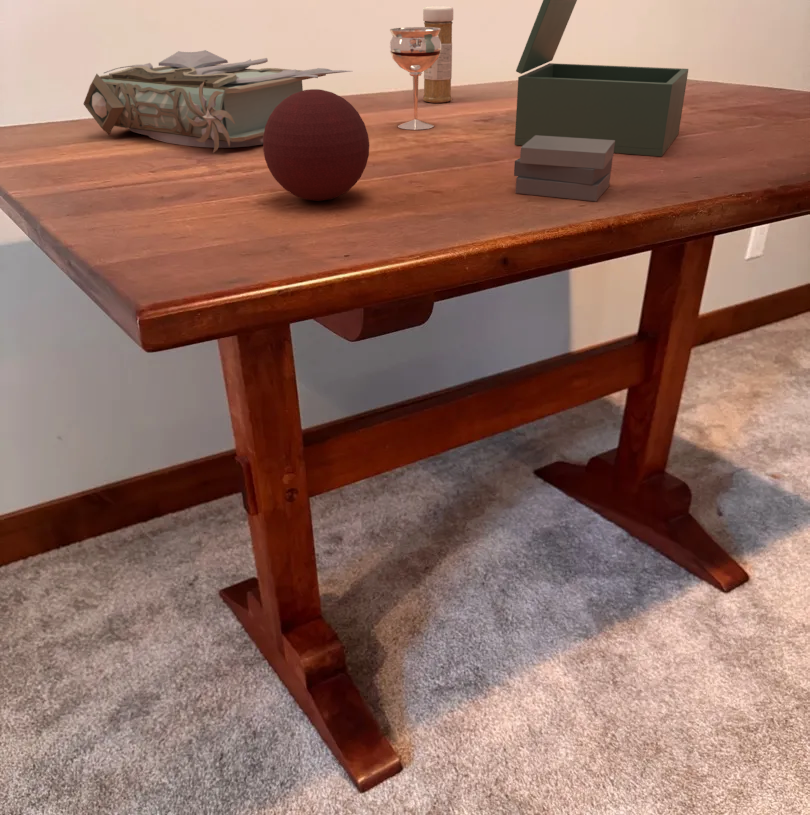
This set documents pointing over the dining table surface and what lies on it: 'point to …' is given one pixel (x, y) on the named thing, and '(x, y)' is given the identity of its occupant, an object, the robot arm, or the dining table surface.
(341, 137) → the decorative ball
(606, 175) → the grey books
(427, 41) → the wineglass
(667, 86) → the chest
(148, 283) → the dining table surface
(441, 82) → the sprinkles bottle
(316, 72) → the ornate book
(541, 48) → the lid
